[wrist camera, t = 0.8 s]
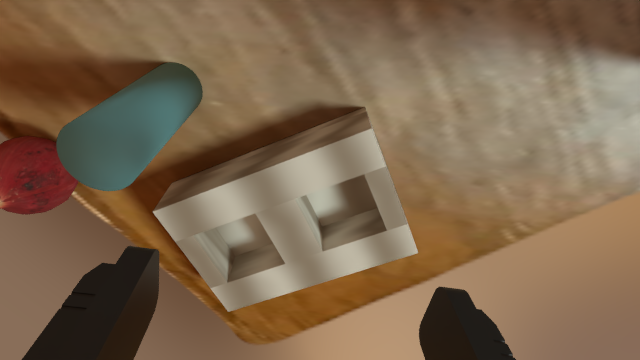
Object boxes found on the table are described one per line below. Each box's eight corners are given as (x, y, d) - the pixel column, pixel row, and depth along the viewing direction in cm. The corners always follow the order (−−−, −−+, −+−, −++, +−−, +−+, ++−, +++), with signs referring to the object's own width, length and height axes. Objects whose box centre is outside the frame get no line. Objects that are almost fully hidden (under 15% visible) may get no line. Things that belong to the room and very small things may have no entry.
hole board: (364, 107, 30) (371, 128, 26) (407, 221, 36) (418, 252, 32) (171, 183, 34) (152, 211, 30) (237, 277, 39) (228, 311, 35)
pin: (184, 53, 28) (106, 106, 18) (212, 102, 30) (155, 175, 20) (139, 74, 29) (38, 136, 19) (168, 120, 31) (92, 200, 20)
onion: (76, 115, 31) (5, 160, 24) (108, 177, 33) (53, 233, 26) (10, 128, 31) (-79, 175, 24) (47, 188, 34) (-24, 245, 27)
